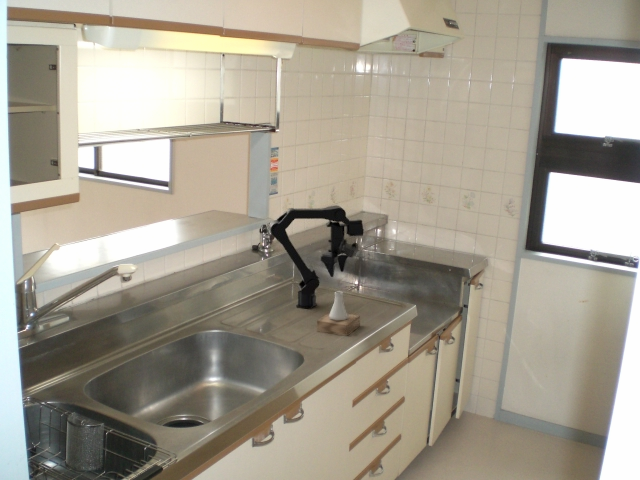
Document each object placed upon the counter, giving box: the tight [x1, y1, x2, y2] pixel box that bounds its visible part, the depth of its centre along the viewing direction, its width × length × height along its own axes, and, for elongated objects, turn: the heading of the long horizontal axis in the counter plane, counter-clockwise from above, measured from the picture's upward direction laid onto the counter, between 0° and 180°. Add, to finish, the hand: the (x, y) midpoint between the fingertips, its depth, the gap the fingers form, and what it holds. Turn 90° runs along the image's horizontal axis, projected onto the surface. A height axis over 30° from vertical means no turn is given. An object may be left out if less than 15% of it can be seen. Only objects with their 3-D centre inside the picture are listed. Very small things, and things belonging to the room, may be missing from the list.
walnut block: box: [316, 311, 361, 337], centre depth 259 cm, size 12×12×4 cm
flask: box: [329, 290, 349, 321], centre depth 258 cm, size 7×7×10 cm
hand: (337, 274), depth 285 cm, fingers open, 9 cm apart
